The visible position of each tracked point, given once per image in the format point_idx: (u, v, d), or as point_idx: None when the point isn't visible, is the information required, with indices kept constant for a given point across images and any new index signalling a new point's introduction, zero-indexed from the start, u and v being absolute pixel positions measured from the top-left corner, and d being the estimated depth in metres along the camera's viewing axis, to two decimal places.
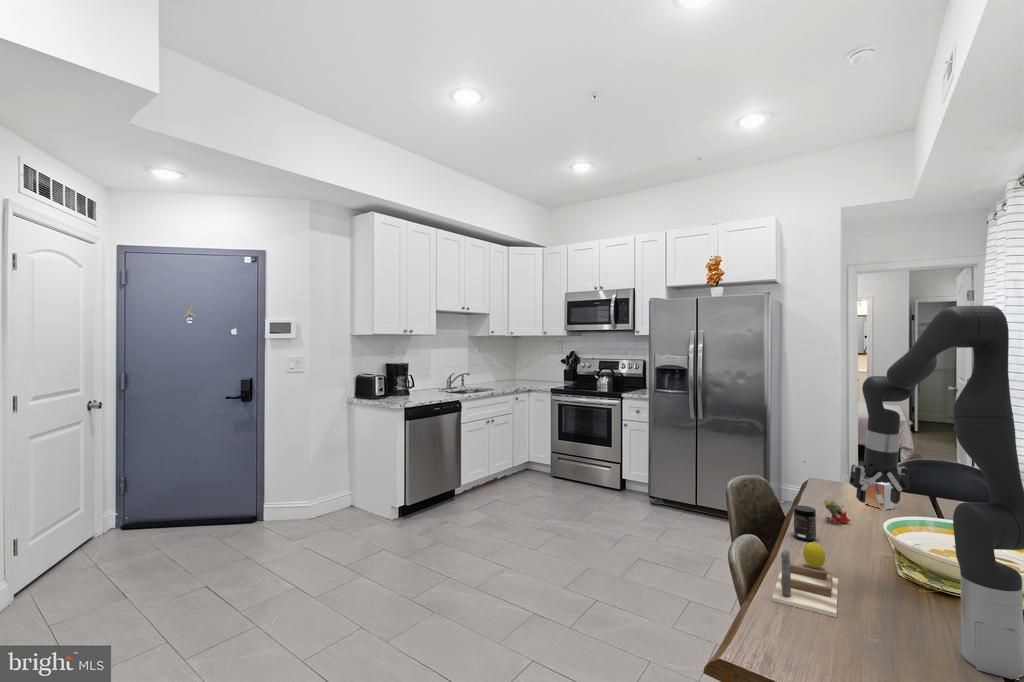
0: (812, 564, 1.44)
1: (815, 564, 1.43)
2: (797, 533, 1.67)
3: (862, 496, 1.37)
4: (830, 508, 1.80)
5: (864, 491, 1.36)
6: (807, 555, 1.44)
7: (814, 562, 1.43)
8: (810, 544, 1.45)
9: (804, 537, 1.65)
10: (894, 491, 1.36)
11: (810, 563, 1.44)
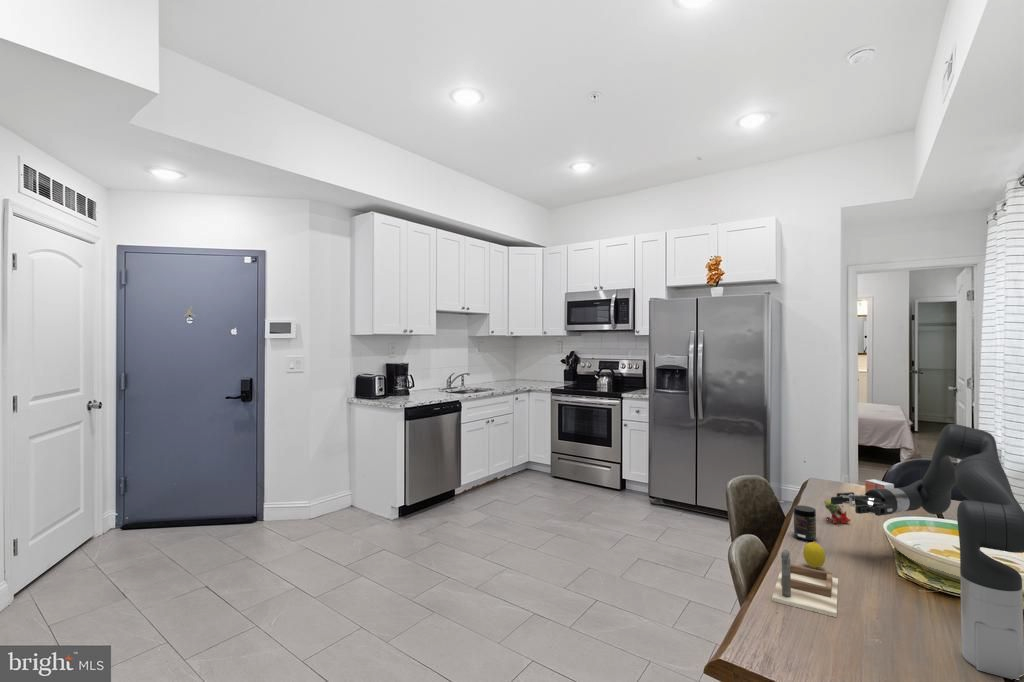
0: (812, 564, 1.44)
1: (815, 564, 1.43)
2: (797, 533, 1.67)
3: None
4: (830, 508, 1.80)
5: (840, 496, 1.53)
6: (807, 555, 1.44)
7: (814, 562, 1.43)
8: (810, 544, 1.45)
9: (804, 537, 1.65)
10: None
11: (810, 563, 1.44)
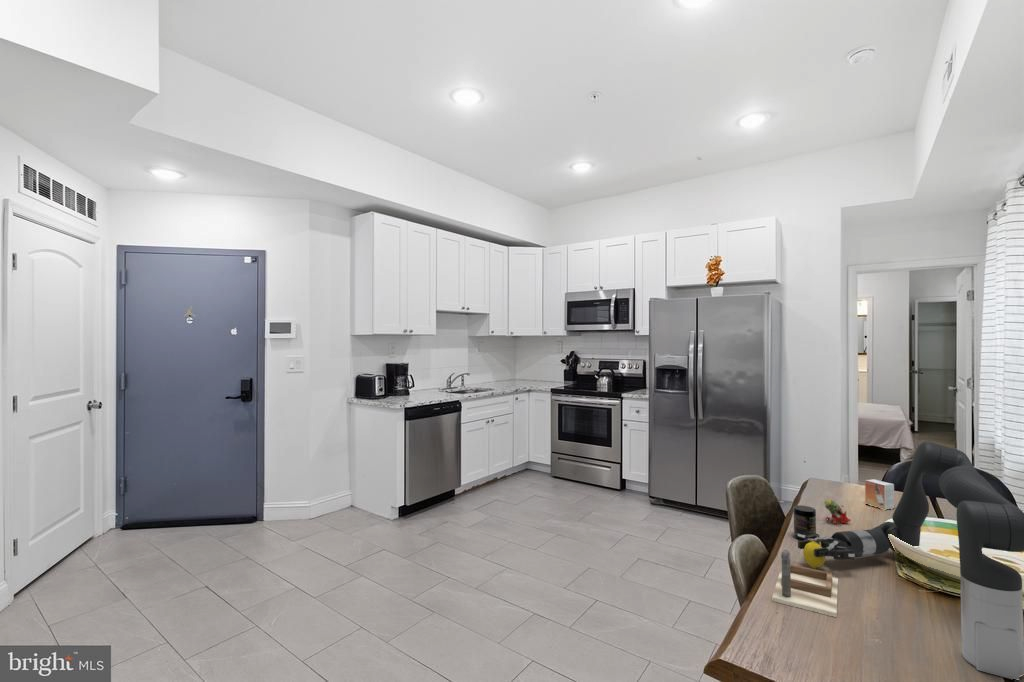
0: (812, 564, 1.44)
1: (815, 563, 1.43)
2: (797, 533, 1.67)
3: None
4: (830, 508, 1.80)
5: (808, 540, 1.48)
6: (807, 555, 1.44)
7: (813, 562, 1.43)
8: (810, 544, 1.45)
9: (804, 537, 1.65)
10: None
11: (810, 563, 1.44)
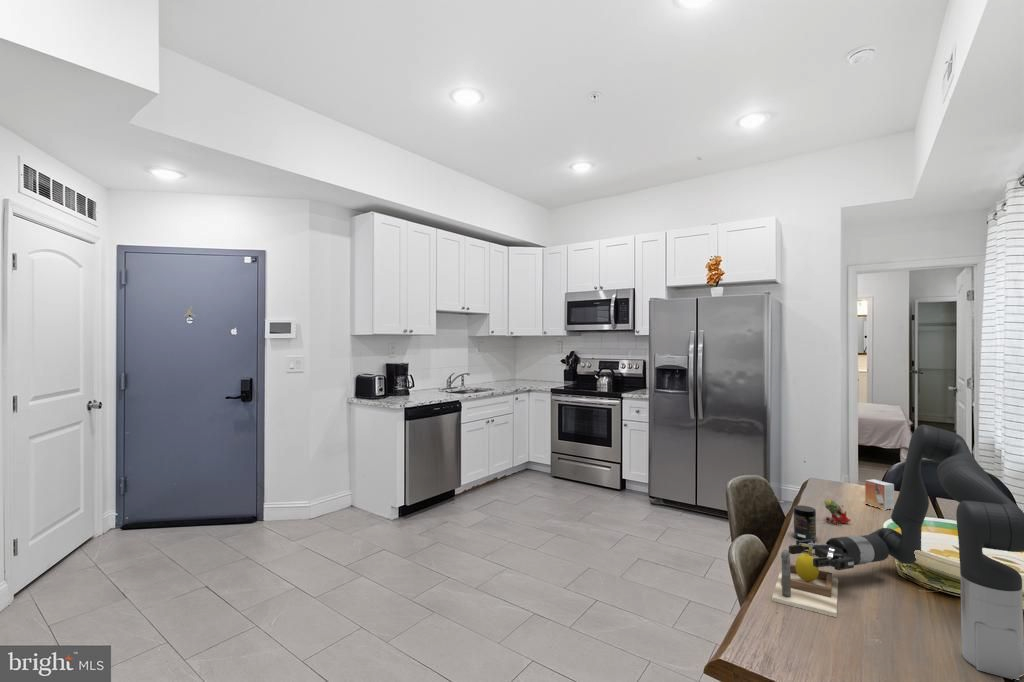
0: (805, 578, 1.33)
1: (808, 578, 1.32)
2: (797, 533, 1.67)
3: None
4: (830, 508, 1.80)
5: (799, 545, 1.39)
6: (799, 569, 1.33)
7: (806, 576, 1.32)
8: (802, 557, 1.34)
9: (804, 537, 1.65)
10: None
11: (802, 577, 1.33)
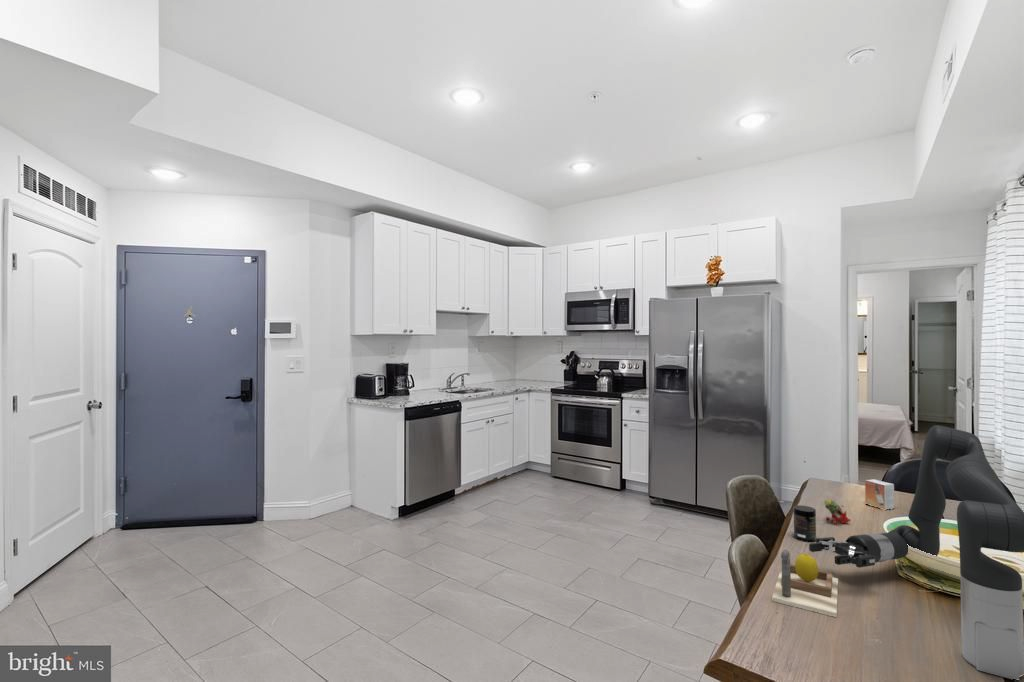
0: (805, 578, 1.33)
1: (807, 577, 1.32)
2: (797, 533, 1.67)
3: None
4: (830, 508, 1.80)
5: (820, 543, 1.40)
6: (799, 568, 1.33)
7: (806, 576, 1.32)
8: (802, 556, 1.34)
9: (804, 537, 1.65)
10: None
11: (802, 577, 1.33)
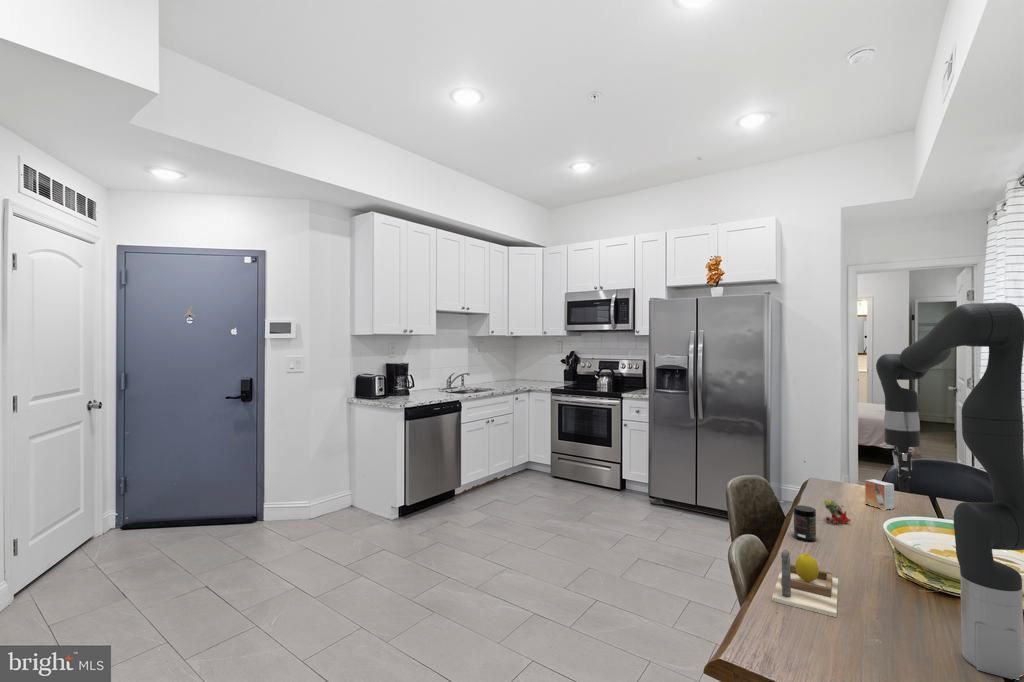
0: (805, 578, 1.33)
1: (808, 578, 1.32)
2: (797, 533, 1.67)
3: (908, 485, 1.27)
4: (830, 508, 1.80)
5: None
6: (800, 569, 1.33)
7: (806, 576, 1.32)
8: (802, 556, 1.34)
9: (804, 537, 1.65)
10: None
11: (803, 577, 1.33)
